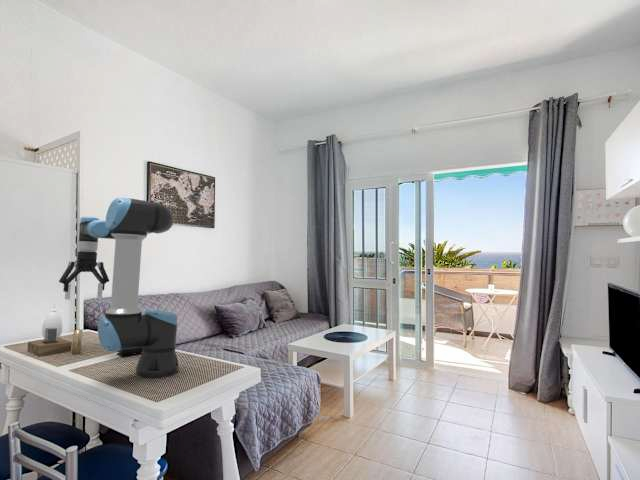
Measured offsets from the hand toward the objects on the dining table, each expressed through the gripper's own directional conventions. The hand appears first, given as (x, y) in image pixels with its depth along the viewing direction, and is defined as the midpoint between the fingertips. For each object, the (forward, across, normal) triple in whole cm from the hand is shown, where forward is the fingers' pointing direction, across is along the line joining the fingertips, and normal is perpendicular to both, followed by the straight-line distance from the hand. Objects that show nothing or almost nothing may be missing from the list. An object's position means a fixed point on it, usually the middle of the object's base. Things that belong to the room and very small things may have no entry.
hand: (83, 298), depth 169 cm
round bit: (+23, +4, +4) cm, 24 cm away
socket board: (+23, +9, -7) cm, 26 cm away
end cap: (+24, -11, +21) cm, 33 cm away
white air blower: (+23, +2, -24) cm, 33 cm away
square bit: (+23, +9, -7) cm, 26 cm away
